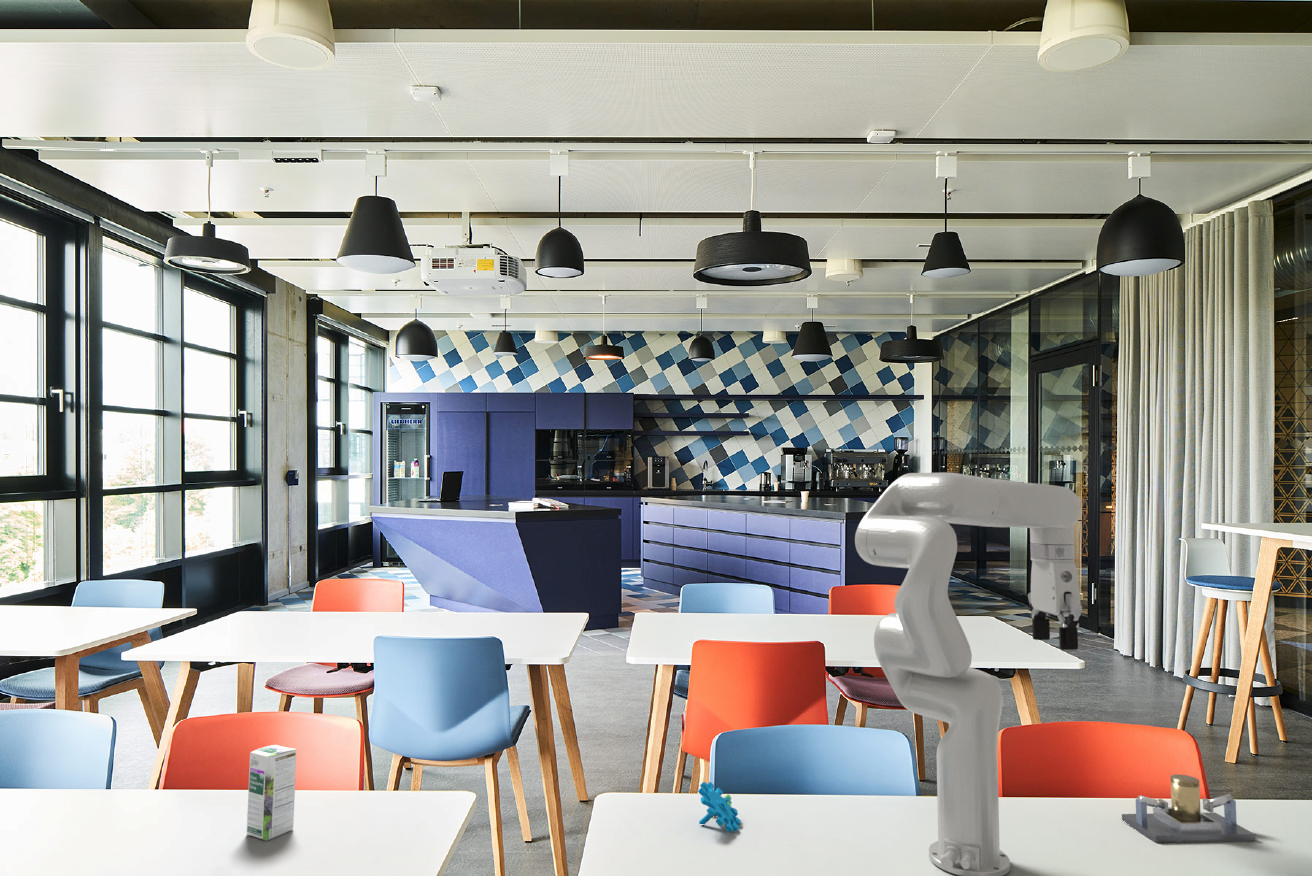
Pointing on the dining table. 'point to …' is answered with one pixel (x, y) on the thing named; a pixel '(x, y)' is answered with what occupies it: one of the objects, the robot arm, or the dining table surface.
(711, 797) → the gear
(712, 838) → the dining table surface
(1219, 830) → the coupling stand
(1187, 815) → the cylinder
